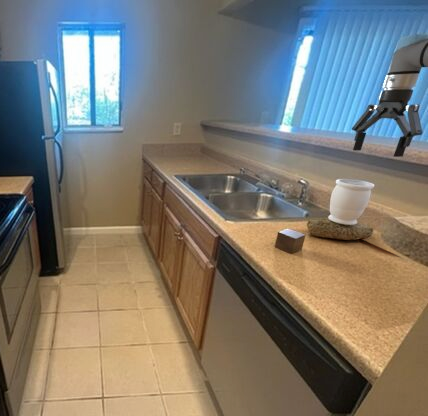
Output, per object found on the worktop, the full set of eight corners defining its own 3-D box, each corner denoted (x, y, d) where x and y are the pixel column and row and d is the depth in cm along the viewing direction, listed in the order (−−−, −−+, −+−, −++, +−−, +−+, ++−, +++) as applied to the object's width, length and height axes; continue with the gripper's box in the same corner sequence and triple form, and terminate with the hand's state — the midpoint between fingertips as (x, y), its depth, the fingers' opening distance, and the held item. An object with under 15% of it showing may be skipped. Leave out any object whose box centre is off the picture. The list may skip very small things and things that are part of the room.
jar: (339, 214, 108) (351, 177, 103) (368, 224, 99) (383, 185, 93) (317, 216, 106) (328, 179, 101) (344, 228, 97) (358, 187, 91)
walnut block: (301, 250, 96) (306, 234, 94) (291, 254, 93) (295, 238, 91) (284, 242, 101) (288, 228, 99) (274, 246, 98) (277, 231, 96)
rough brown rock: (308, 241, 104) (381, 244, 93) (308, 221, 103) (381, 221, 92) (305, 234, 115) (370, 235, 104) (305, 216, 114) (370, 215, 103)
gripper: (350, 90, 102) (334, 148, 109) (436, 86, 79) (408, 160, 86) (367, 90, 103) (350, 147, 111) (457, 86, 80) (428, 159, 87)
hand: (376, 153), depth 98 cm, fingers open, 13 cm apart
